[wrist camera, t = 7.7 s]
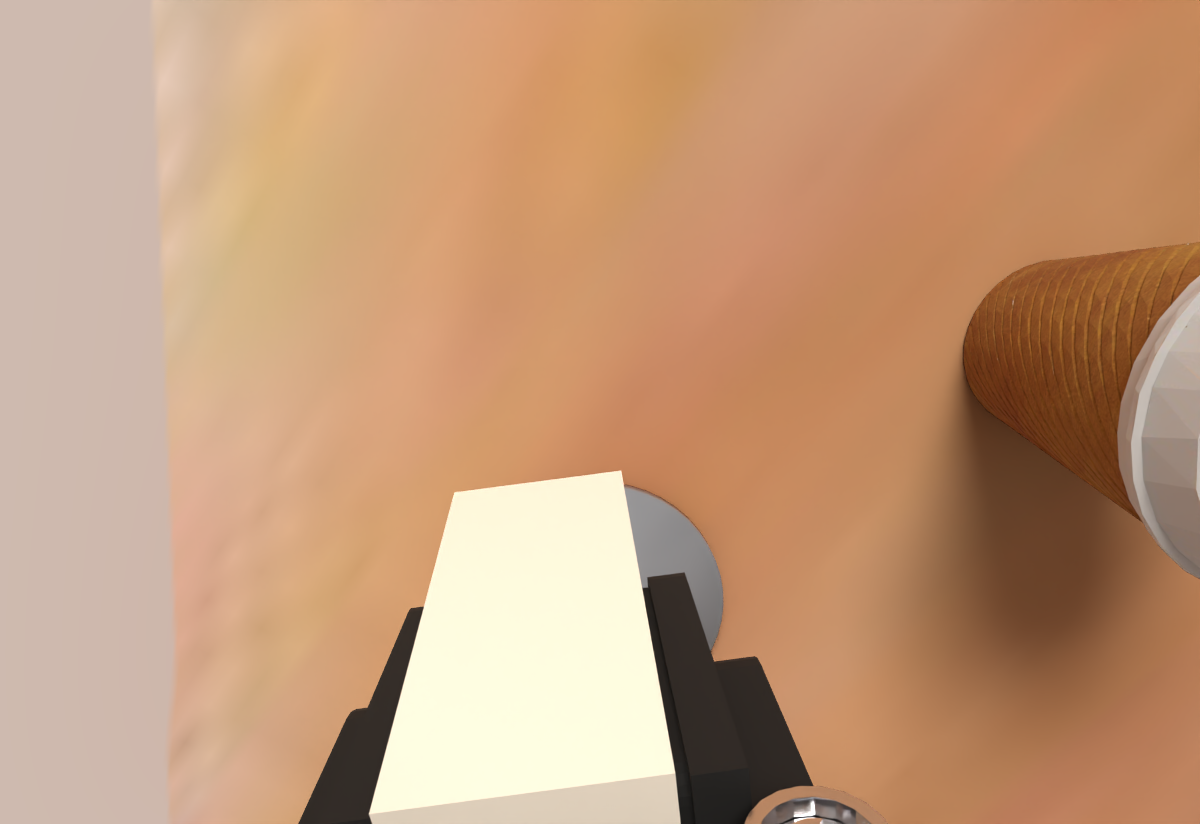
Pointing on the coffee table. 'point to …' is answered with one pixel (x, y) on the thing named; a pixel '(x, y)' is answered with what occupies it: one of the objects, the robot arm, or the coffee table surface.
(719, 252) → the coffee table surface
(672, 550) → the grey round disc
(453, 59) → the coffee table surface
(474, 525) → the white lever knob
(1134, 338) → the disposable coffee cup
